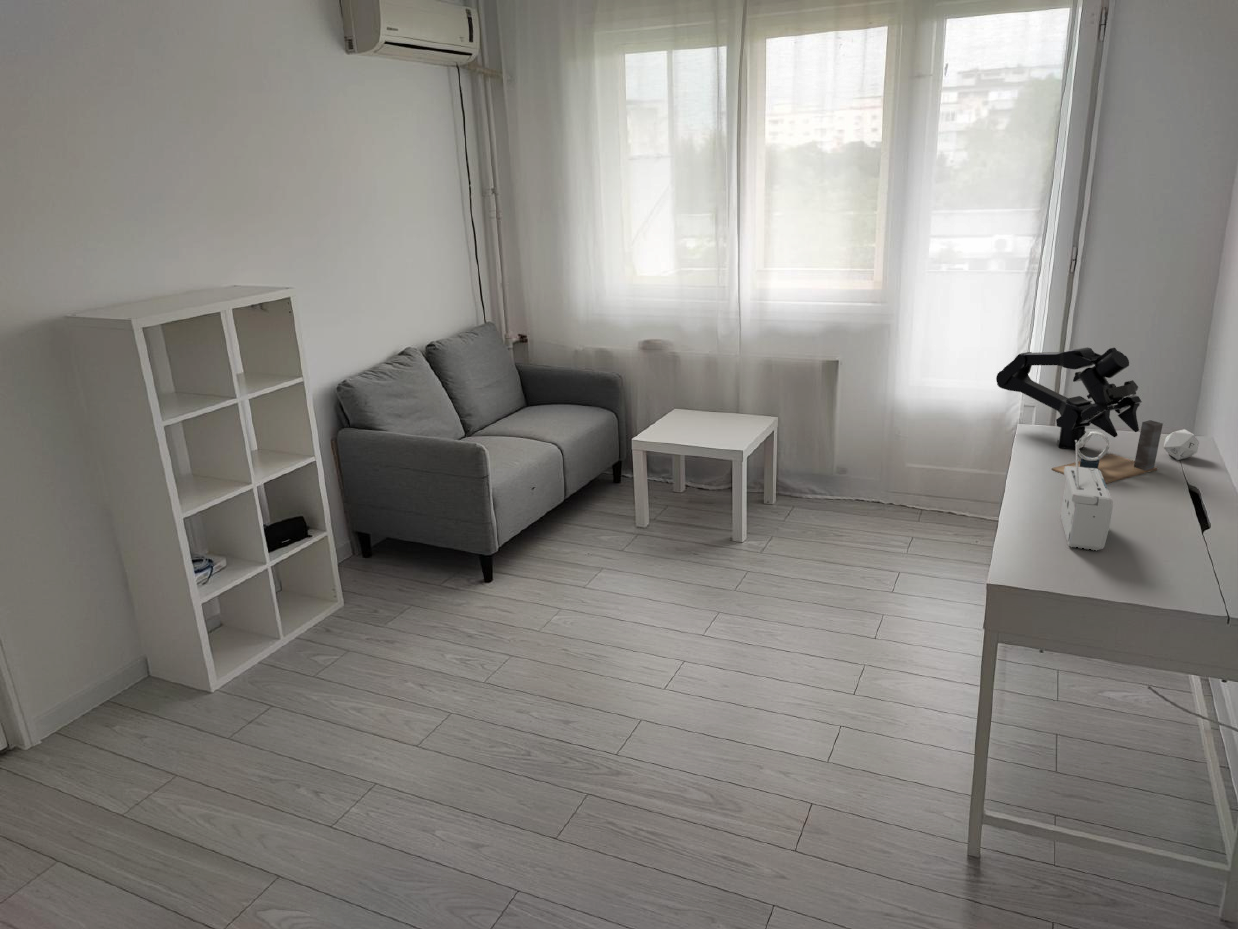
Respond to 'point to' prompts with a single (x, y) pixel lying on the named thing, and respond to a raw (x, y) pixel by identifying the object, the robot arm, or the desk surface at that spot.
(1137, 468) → the pull board
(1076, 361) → the robot arm
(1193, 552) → the desk surface
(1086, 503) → the stereo radio cassette player
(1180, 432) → the die
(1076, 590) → the desk surface
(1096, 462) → the watch
